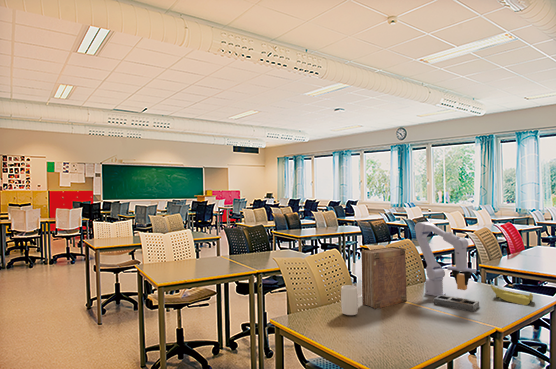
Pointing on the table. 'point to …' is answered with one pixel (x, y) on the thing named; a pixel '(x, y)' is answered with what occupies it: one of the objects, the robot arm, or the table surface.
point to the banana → (513, 296)
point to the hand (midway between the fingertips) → (461, 284)
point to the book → (383, 277)
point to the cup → (349, 300)
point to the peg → (461, 282)
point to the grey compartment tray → (456, 302)
